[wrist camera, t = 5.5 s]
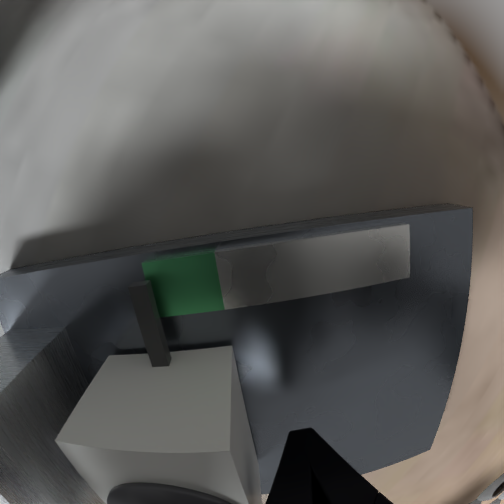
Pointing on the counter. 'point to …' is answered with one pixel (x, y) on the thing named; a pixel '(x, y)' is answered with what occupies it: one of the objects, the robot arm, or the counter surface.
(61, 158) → the counter surface
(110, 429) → the white box with dome
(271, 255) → the bench
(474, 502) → the grey flat openwork piece
